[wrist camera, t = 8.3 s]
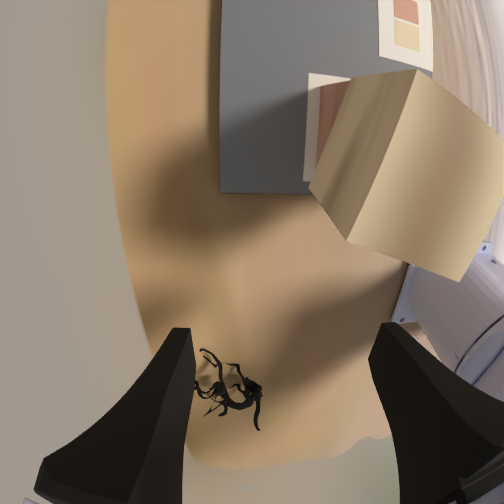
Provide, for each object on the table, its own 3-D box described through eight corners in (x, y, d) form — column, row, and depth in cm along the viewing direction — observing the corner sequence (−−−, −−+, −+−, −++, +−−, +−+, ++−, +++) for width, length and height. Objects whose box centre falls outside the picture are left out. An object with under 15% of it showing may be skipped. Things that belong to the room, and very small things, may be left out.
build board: (422, -13, 11) (428, -16, 10) (412, 198, 18) (418, 202, 18) (226, -49, 10) (225, -55, 10) (220, 189, 18) (219, 193, 17)
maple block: (441, 131, 11) (518, 156, 6) (400, 224, 13) (459, 282, 8) (351, 78, 10) (417, 69, 5) (308, 187, 12) (346, 241, 8)
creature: (192, 387, 29) (267, 401, 27) (175, 427, 24) (257, 445, 23) (181, 335, 25) (272, 351, 24) (157, 381, 20) (260, 403, 19)
